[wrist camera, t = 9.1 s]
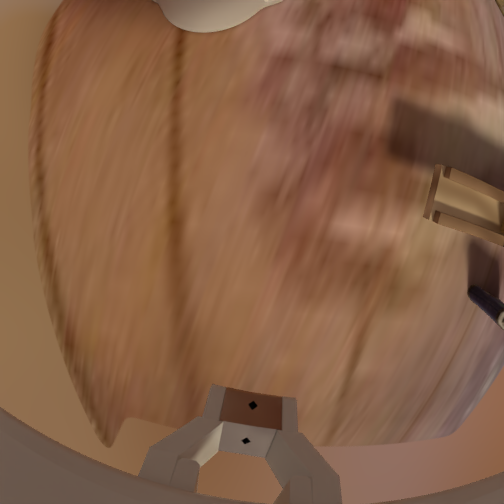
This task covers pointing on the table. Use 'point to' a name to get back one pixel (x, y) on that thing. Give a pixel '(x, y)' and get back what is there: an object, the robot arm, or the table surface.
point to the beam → (465, 204)
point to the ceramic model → (500, 5)
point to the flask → (488, 304)
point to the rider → (503, 227)
